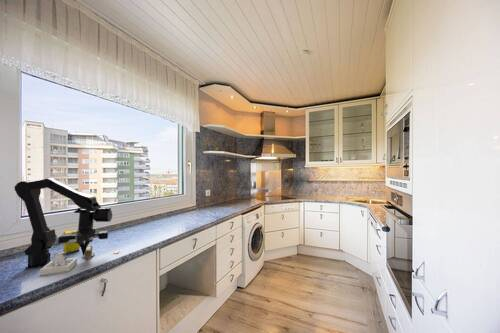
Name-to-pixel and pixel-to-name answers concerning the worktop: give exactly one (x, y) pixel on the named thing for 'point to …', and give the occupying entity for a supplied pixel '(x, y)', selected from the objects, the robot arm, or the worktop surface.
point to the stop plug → (60, 259)
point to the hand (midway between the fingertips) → (83, 254)
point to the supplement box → (71, 243)
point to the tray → (54, 270)
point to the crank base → (94, 254)
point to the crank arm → (88, 252)
